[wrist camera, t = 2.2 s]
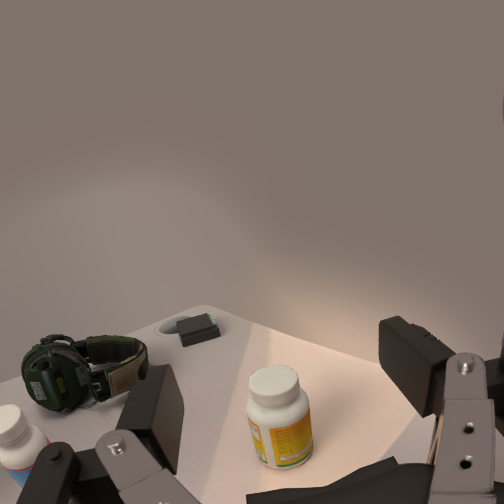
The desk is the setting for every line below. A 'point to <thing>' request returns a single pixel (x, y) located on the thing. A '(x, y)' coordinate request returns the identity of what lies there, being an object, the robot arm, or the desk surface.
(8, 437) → the pill bottle
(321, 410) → the desk surface
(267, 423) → the supplement bottle
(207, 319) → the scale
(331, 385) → the desk surface
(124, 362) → the headphones
